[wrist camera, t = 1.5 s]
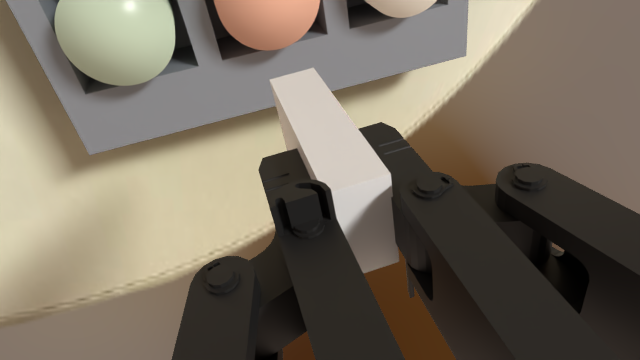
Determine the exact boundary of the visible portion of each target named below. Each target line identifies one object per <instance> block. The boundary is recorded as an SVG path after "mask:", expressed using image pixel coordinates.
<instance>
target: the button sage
mask: <svg viewBox="0 0 640 360" xmlns="http://www.w3.org/2000/svg"><path fill="white" fill-rule="evenodd" d="M55 32H56V36H57V39H58V42H59V44H60V46H61V48H62V50H63V52H64V53H65V55H66V56H67V57H68V59H69V60H70V61H71V62H72V63H73V64H74V65H75V66H76V67H77V68H78V69H79V70H80V71H82V72H83V73H85V74H86V75H88V76H90V77H91V78H93V79H95V80H98V81H100V82H103V83H107V84H111V85H118V86H130V85H136V84H140V83H144V82H146V81H148V80H151V79H152V78H154V77H155V76H157V75H158V74H159V73H160V72H162V71H163V69H164V68H165V67H166V66H167V64H168V63H169V61H170V59H171V57H172V54H173V51H174V47H175V21H174V9H173V5H172V1H171V0H59V2H58V5H57V8H56V12H55Z"/></svg>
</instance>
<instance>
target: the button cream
mask: <svg viewBox="0 0 640 360" xmlns="http://www.w3.org/2000/svg"><path fill="white" fill-rule="evenodd" d="M364 1H366V2H367V3H368V4H370V5H371V6H373V7H374V8H375V9H377V10H378V11H380V12H381V13H383V14H385V15H387V16H391V17H396V18H406V17H411V16H414V15H417V14H419V13H421V12H423V11H425V10H426V9H428V8H429V7H430V6H432V5H433V4H434V3H435V2H436V1H437V0H364Z"/></svg>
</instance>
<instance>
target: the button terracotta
mask: <svg viewBox="0 0 640 360" xmlns="http://www.w3.org/2000/svg"><path fill="white" fill-rule="evenodd" d="M214 3H215V6H216V9H217V12H218V15H219V18H220V20H221V22H222V24H223V25H224V27H225V28H226V30H227V31H228V32H229V33H230V34H231V35H232V36H233V37H234V38H235V39H236V40H238V41H239V42H240V43H242V44H244V45H246V46H248V47H251V48H253V49H258V50H266V51H268V50H277V49H282V48H285V47H287V46H289V45H292V44H293V43H295V42H296V41H298V40H299V39H300V38H301V37H303V36H304V35H305V33H306V32H307V31H308V30H309V28H310V27H311V26H312V24H313V22H314V20H315V18H316V15H317V12H318V9H319V4H320V0H214Z"/></svg>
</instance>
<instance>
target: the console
mask: <svg viewBox="0 0 640 360" xmlns="http://www.w3.org/2000/svg"><path fill="white" fill-rule="evenodd" d="M171 1H172V5H173V9H174V21H175V47H174V51H173V54H172V57H171V59H170V61H169V63H168V64H167V66H166V67H165V68H164V69H163V71H162V72H160V73H159V74H158V75H157V76H155V77H154V78H152V79H151V80H148V81H146V82H144V83H140V84H136V85H130V86H118V85H111V84H107V83H103V82H100V81H98V80H95V79H93V78H91V77H90V76H88V75H86V74H85V73H83V72H82V71H80V70H79V69H78V68H77V67H76V66H75V65H74V64H73V63H72V62H71V61H70V60H69V59H68V57H67V56H66V55H65V53H64V52H63V50H62V48H61V46H60V44H59V42H58V39H57V36H56V32H55V12H56V8H57V5H58V2H59V0H6V2H7V4H8V5H9V7H10V9H11V11H12V13H13V15H14V16H15V18H16V20H17V22H18V24H19V26H20V28H21V29H22V31H23V33H24V35H25V37H26V39H27V41H28V42H29V44H30V46H31V48H32V50H33V52H34V53H35V55H36V57H37V59H38V61H39V63H40V65H41V66H42V68H43V70H44V72H45V74H46V76H47V77H48V79H49V81H50V83H51V85H52V87H53V89H54V90H55V92H56V94H57V96H58V98H59V100H60V102H61V103H62V105H63V107H64V109H65V111H66V113H67V114H68V116H69V118H70V120H71V122H72V124H73V126H74V127H75V129H76V131H77V133H78V135H79V137H80V138H81V140H82V142H83V144H84V146H85V148H86V150H87V151H88V153H89V155H92V154H96V153H100V152H103V151H107V150H111V149H115V148H119V147H122V146H126V145H130V144H134V143H138V142H141V141H145V140H149V139H153V138H157V137H160V136H164V135H168V134H172V133H176V132H179V131H183V130H187V129H191V128H195V127H198V126H202V125H206V124H210V123H214V122H217V121H221V120H225V119H229V118H232V117H236V116H240V115H244V114H248V113H251V112H255V111H259V110H263V109H267V108H270V107H274V106H276V104H275V100H274V96H273V92H272V88H271V84H270V79H273V78H277V77H281V76H284V75H288V74H292V73H296V72H299V71H303V70H307V69H310V68H314V69H315V70H316V72H317V73H318V74H319V76H320V77H321V78H322V80H323V81H324V83H325V84H326V85H327V87H328V88H329V89H330V91H335V90H339V89H342V88H346V87H350V86H354V85H358V84H361V83H365V82H369V81H373V80H377V79H380V78H384V77H388V76H392V75H396V74H399V73H403V72H407V71H411V70H415V69H418V68H422V67H426V66H430V65H434V64H437V63H441V62H445V61H449V60H453V59H456V58H460V57H464V56H466V48H467V23H468V0H437V1H436V2H435V3H434V4H433V5H432V6H430V7H429V8H428V9H426V10H425V11H423V12H421V13H419V14H417V15H414V16H411V17H406V18H396V17H391V16H387V15H385V14H383V13H381V12H380V11H378V10H377V9H375V8H374V7H373V6H371V5H370V4H368V3H367V2H366V1H364V0H320V4H319V9H318V12H317V15H316V18H315V20H314V22H313V24H312V26H311V27H310V28H309V30H308V31H307V32H306V33H305V35H304V36H303V37H301V38H300V39H299V40H298V41H296V42H295V43H293V44H292V45H289V46H287V47H285V48H282V49H277V50H268V51H266V50H258V49H253V48H251V47H248V46H246V45H244V44H242V43H240V42H239V41H238V40H236V39H235V38H234V37H233V36H232V35H231V34H230V33H229V32H228V31H227V30H226V28H225V27H224V25H223V24H222V22H221V20H220V18H219V15H218V12H217V9H216V6H215V3H214V0H171Z"/></svg>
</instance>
